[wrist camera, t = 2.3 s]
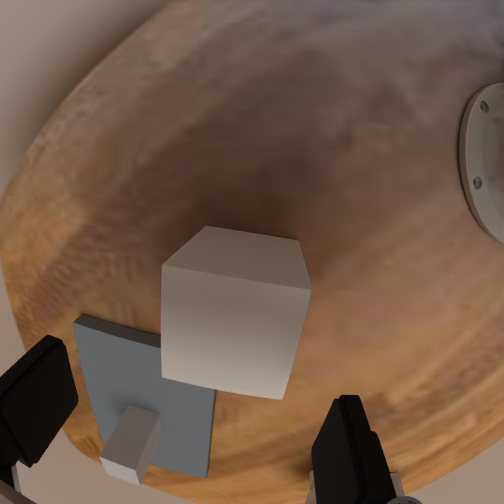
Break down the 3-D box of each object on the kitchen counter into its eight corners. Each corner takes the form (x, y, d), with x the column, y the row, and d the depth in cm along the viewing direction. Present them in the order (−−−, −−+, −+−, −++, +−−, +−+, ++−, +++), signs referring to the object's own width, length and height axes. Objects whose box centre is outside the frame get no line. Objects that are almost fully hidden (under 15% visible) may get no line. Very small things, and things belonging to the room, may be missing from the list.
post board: (82, 314, 21) (24, 366, 14) (221, 348, 21) (196, 430, 13) (110, 440, 27) (84, 488, 19) (208, 468, 26) (195, 525, 19)
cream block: (206, 225, 18) (162, 264, 11) (298, 240, 18) (311, 289, 11) (198, 307, 20) (161, 377, 13) (281, 322, 20) (282, 399, 13)
